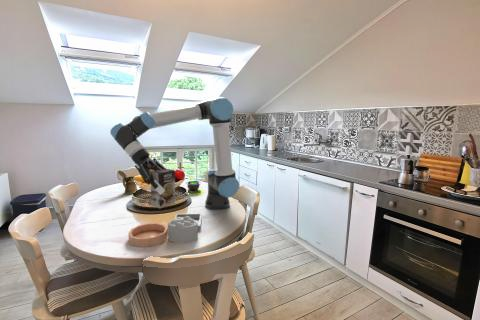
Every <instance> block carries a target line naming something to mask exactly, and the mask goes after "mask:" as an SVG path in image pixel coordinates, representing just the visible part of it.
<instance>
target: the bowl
mask: <svg viewBox="0 0 480 320" xmlns="http://www.w3.org/2000/svg"><path fill="white" fill-rule="evenodd" d="M167 239H168V226H166V225H165V224H163V223H159V222H147V223H144V224H143V223H142V224H138V225H137V226H135V227H133V228H131V229H130V230H129V232H128V242H129V243H130V246H133V247H134V246H135V247H137V248H147V247H152V246H153V247H154V246H156V245H159V244H162V243H163V242H165V241H166V240H167Z"/></svg>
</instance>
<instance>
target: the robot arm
mask: <svg viewBox="0 0 480 320" xmlns="http://www.w3.org/2000/svg"><path fill="white" fill-rule="evenodd" d="M233 113H234V106H233V104H232V102H231V100H230V99H228V98H226V97H223V96H218V97H213V98H209V99H207V100H204V101H201V102H195V104H194V105H190V106H184V107H180V108H174V109H170V110H164V111H159V112H153V113H149V111H144V112H143V113H141V114H140V115H137V116H135V117H133V119H132V121H130V122H129V123H126V124H124V123H122V122H121V123H118V124H115V125H114V126H113V127H111V128H110V131H109V132H110V135H111V136H112V137H113V139H114V141H116V143H117V144H118V145H119V146H120V147H121V149H123V151H124V152H125V153H126V155H128V157H129V158H131V160H132V161H133V163H134V164H135V166H134V167H135V169H136V170H137V171H138V173H139V175H140V176H141V178H142V179H143V182H144V183H145V184H146V185H150V186H151V185H152V186H153V187H154V188H155V189H156V190H157V192H158V193H159V194H160V195H161V194H162V193H163V192H165V190H164V189H163V188H162V186H161V185H160V184H159V183H158V182H157V181H156V180H154V179H153V176H152V173H151V170H152V171H156V170H162V169H167V167H165V166H164V165H163V164H162V163H160V162H159V161H158V160H157V158H155V157H153V159H152V158H151V157H150V155H151V154H150V152H149V151H148V150H147V149H146V148H145V147H144V145H142V143H141V142H140V141H139V140H138V138H139V137H141V136H142V135H143V134H145V133H146V132H148V131H149V130H152V129H156V128H161V127H166V126H170V125H171V126H172V125H176V124H179V123H186V122H190V121H196V120H198V121H203V120H204V121H205V120H209V125H210V126H211V127H212V134H213V142H214V143H213V144H214V145H213V146H214V154H215V163H216V168H215V169H208V171H207V196H206V198H205V199H206V200H205V202H204V206H205V208H207V209H210V210H225V209H228V208H229V207H230V205H231V204H230V199H229V198H232V197H233V196H235V195H236V194H237V193H238V191H239V190H240V182H239V181H238V179H237V177H236V171H235V170H234V169H233V162H232V160H233V159H232V152H231V151H232V150H231V141H230V140H231V138H230V137H231V136H230V128H229V127H230V125H231V123H232V118H231V117H232V116H233ZM177 185H178V184H177V183H176V182H175V187H176V186H177Z"/></svg>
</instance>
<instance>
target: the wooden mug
mask: <svg viewBox="0 0 480 320" xmlns="http://www.w3.org/2000/svg"><path fill="white" fill-rule="evenodd" d="M117 173H118V174H119V176H121V177H122V185H123V187H124V194H125V195H134V194H133V193H134V192H135V191H137V190H138V187H137V183H136V184H135V182H134V180H133V178H134V177H135V176H133V175H132V176H127V174H126V173H124V172H123V171H122V170H118V171H117Z"/></svg>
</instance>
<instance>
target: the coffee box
mask: <svg viewBox="0 0 480 320" xmlns="http://www.w3.org/2000/svg"><path fill="white" fill-rule="evenodd" d="M151 173H152V176H153V179H154V180H156V181H157V182H158V183H159V184H160V185H161V186H162V188H163V189H164V190H165V192H163V193H162V194H161V195H160V194H159V193H158V192H157V190H156V189H155V188H154V187H153V186H152V185H151V184H150V206H152V207H154V208H156V209H157V208H158V209H162V208H165V207H166V208H167V207H168V206H171V205H174V204H176V201H175V200H176V191H175V190H176V188H175V187H176V186H175V183H176V171H175V169H170V168H166V169H162V170H156V171H154V170H152V171H151Z"/></svg>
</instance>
